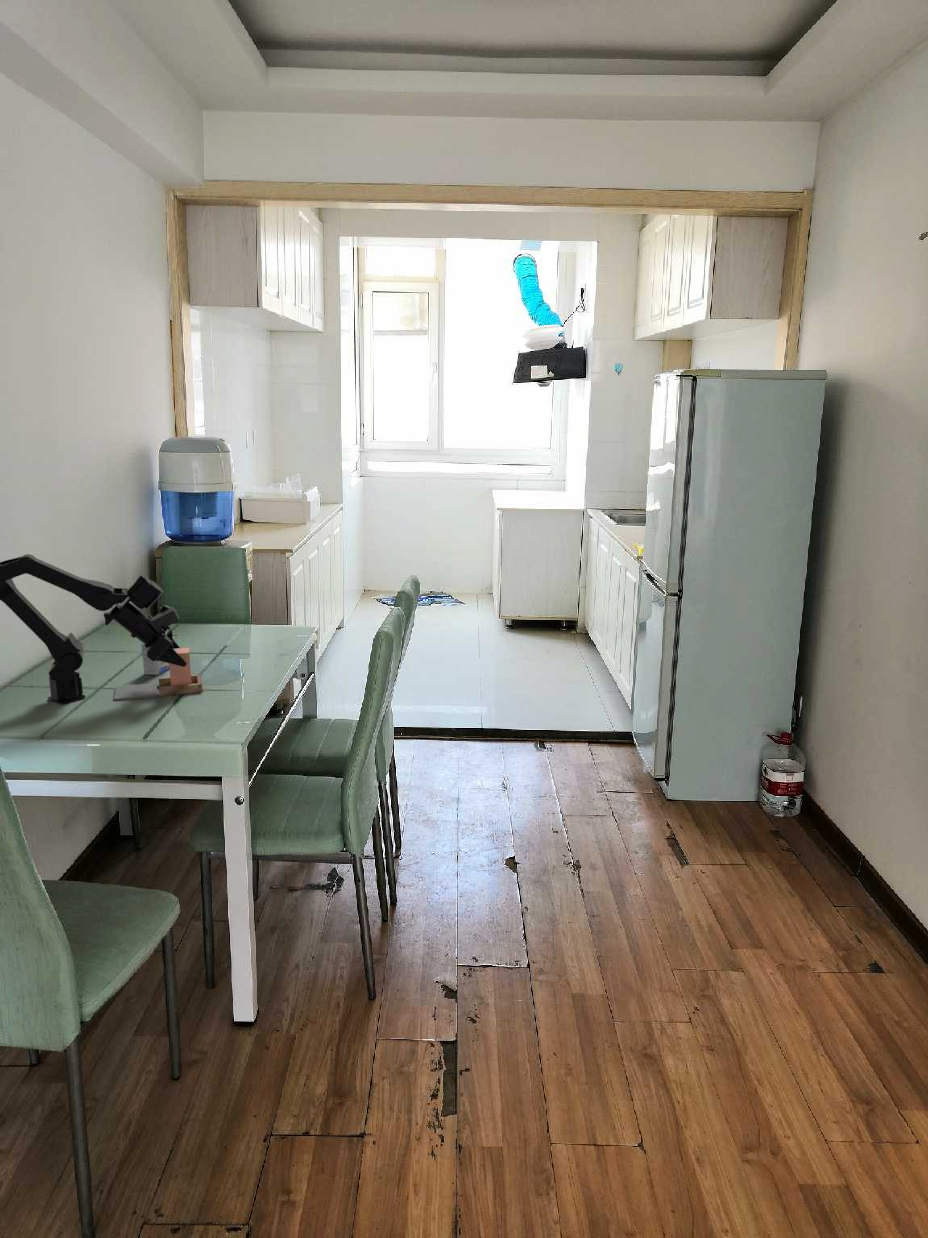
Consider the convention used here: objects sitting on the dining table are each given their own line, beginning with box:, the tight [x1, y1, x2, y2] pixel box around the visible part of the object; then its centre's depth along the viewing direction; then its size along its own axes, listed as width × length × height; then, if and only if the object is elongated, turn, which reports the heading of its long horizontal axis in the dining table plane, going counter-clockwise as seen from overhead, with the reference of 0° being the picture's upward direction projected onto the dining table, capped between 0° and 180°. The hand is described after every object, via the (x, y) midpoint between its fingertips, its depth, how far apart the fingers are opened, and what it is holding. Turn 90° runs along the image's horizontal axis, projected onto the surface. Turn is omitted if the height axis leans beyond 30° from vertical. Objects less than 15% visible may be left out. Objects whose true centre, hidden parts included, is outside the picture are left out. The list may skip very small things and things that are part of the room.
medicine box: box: [141, 643, 170, 676], centre depth 252 cm, size 8×4×9 cm, turn 168°
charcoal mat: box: [113, 682, 158, 702], centre depth 234 cm, size 10×10×1 cm
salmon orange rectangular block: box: [169, 647, 193, 686], centre depth 236 cm, size 5×5×10 cm
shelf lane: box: [157, 673, 204, 697], centre depth 237 cm, size 10×9×2 cm
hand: (185, 661), depth 236 cm, fingers open, 7 cm apart
